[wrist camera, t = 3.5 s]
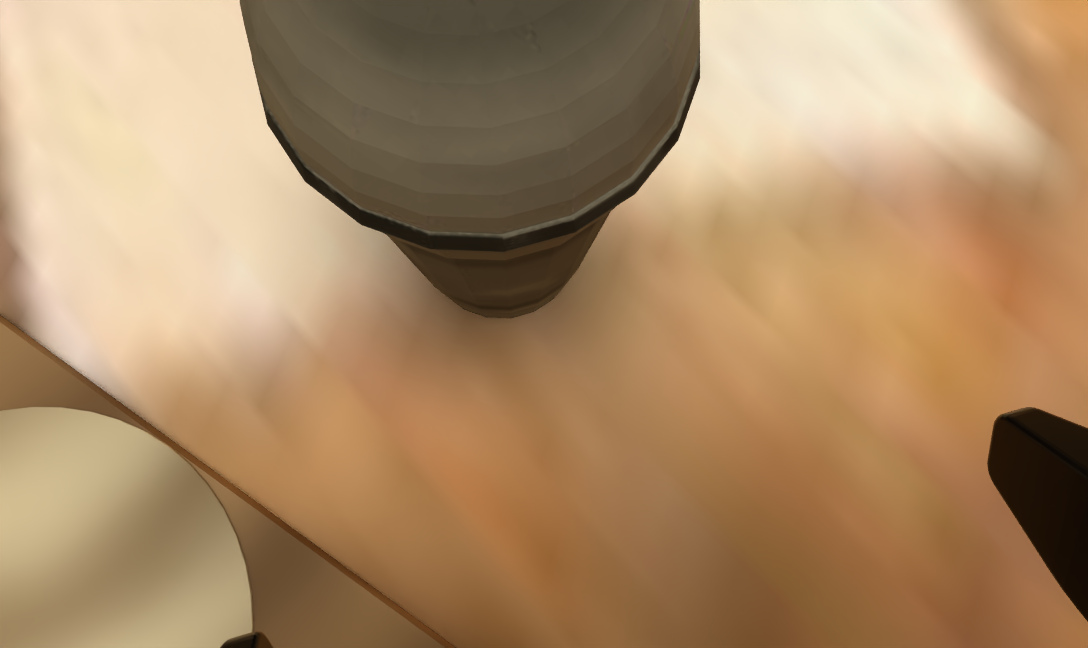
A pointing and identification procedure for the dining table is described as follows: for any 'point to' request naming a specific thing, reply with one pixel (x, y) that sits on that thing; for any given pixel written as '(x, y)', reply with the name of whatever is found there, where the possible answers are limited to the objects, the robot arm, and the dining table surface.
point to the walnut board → (151, 536)
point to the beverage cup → (478, 124)
